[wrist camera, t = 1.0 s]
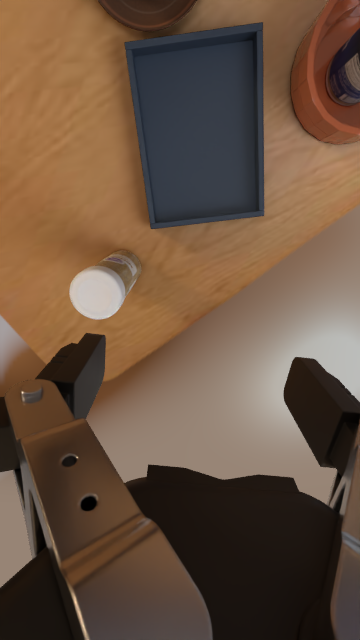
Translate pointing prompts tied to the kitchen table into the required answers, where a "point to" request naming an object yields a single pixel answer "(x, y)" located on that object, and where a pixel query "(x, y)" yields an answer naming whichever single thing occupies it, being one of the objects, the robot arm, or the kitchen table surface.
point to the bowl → (310, 75)
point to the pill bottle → (345, 73)
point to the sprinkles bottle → (105, 285)
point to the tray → (200, 124)
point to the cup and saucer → (147, 12)
